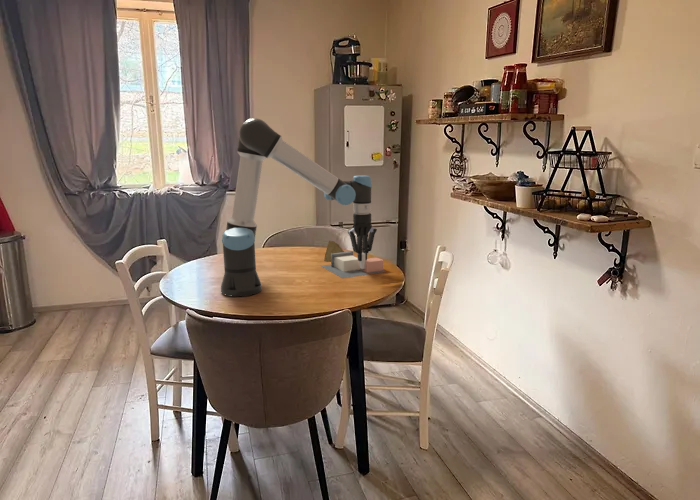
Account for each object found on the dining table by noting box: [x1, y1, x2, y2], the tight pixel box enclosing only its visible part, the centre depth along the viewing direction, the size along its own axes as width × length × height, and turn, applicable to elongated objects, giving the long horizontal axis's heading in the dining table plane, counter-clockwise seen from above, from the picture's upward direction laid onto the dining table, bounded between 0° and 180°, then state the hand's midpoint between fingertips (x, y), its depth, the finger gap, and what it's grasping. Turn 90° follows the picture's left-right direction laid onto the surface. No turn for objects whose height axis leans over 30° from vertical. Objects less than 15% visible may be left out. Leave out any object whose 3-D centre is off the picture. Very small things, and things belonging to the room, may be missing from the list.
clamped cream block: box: [330, 250, 360, 271], centre depth 220 cm, size 11×12×6 cm
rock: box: [324, 240, 345, 262], centre depth 233 cm, size 11×9×10 cm
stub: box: [361, 257, 384, 273], centre depth 215 cm, size 8×6×4 cm
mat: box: [320, 264, 387, 279], centre depth 218 cm, size 21×22×1 cm
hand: (362, 267), depth 213 cm, fingers closed
